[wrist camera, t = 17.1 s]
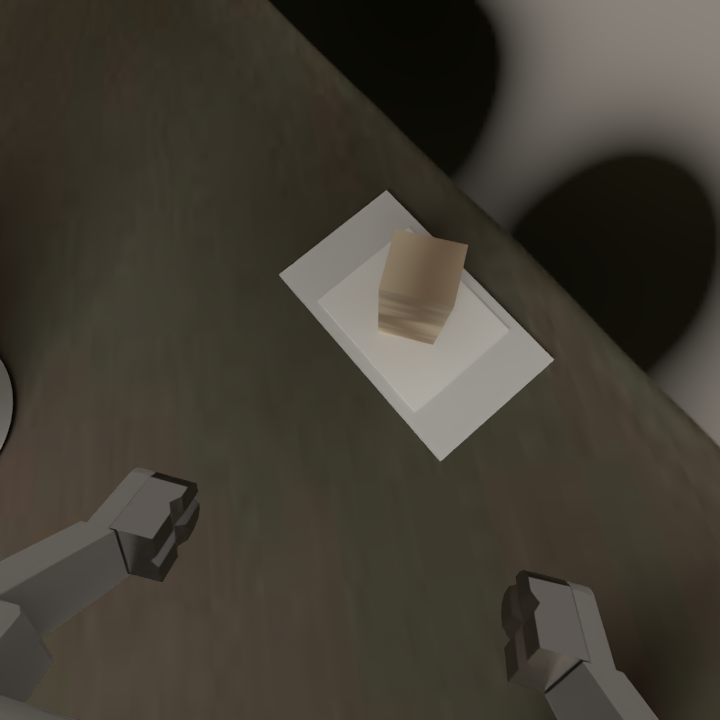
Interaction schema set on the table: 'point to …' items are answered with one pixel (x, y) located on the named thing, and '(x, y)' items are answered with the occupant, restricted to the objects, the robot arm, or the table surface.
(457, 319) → the grey mat
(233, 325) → the table surface
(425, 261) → the wooden block
